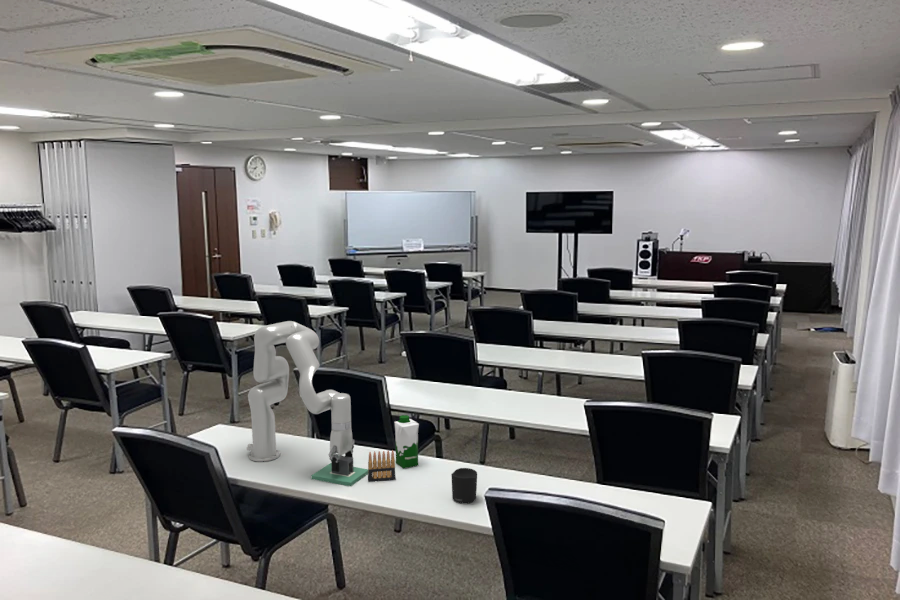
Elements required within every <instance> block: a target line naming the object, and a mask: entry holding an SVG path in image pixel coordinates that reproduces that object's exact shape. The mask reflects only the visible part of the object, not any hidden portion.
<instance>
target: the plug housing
mask: <svg viewBox="0 0 900 600" xmlns="http://www.w3.org/2000/svg"><path fill="white" fill-rule="evenodd" d="M335 458H337V456H335ZM338 462H339V469H340V471H339V472H335V471H332V473H335V474H340V475H346V476H349V471H350V472H351V473H353V472H354V468H353V467H354V457H347V456H345V455H342V456H340V458H339V461H338ZM330 463H331V466H332V462H331V461H330Z"/></svg>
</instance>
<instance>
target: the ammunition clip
mask: <svg viewBox="0 0 900 600" xmlns="http://www.w3.org/2000/svg"><path fill="white" fill-rule="evenodd" d="M385 452H386V453H385ZM381 454H382V455H381ZM367 469H368V474H367V483H373V482H375V481H377V482H388V481H396V478H397V477H396V458H395V451H394V450H393V449H392V450H391V453H390V451H389V450H387V451H385V450H383V451H382V453H381V451H380V450H378V453H377V452H376V451H373V456H372V453H371V451H369V452H368V460H367ZM375 483H376V482H375Z"/></svg>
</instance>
